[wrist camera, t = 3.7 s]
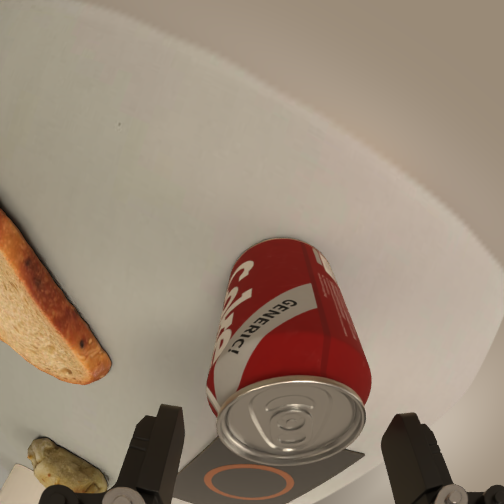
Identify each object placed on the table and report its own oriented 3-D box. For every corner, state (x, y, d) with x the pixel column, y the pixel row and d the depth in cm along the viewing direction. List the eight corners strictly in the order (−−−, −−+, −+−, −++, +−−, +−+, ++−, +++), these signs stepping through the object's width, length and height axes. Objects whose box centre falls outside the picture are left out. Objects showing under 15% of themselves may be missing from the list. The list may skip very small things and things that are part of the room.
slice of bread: (115, 385, 26) (101, 413, 23) (-18, 334, 26) (-36, 353, 22) (104, 191, 20) (76, 205, 16) (-47, 175, 19) (-74, 185, 16)
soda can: (331, 229, 20) (397, 354, 9) (330, 319, 23) (368, 463, 11) (223, 238, 21) (178, 370, 9) (237, 326, 23) (216, 473, 12)
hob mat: (239, 415, 27) (238, 418, 27) (364, 453, 30) (365, 456, 29) (158, 490, 35) (157, 491, 35) (254, 517, 38) (254, 519, 37)
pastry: (125, 492, 37) (113, 532, 30) (67, 478, 38) (53, 512, 31) (80, 443, 32) (59, 489, 24) (21, 429, 33) (-1, 466, 26)
